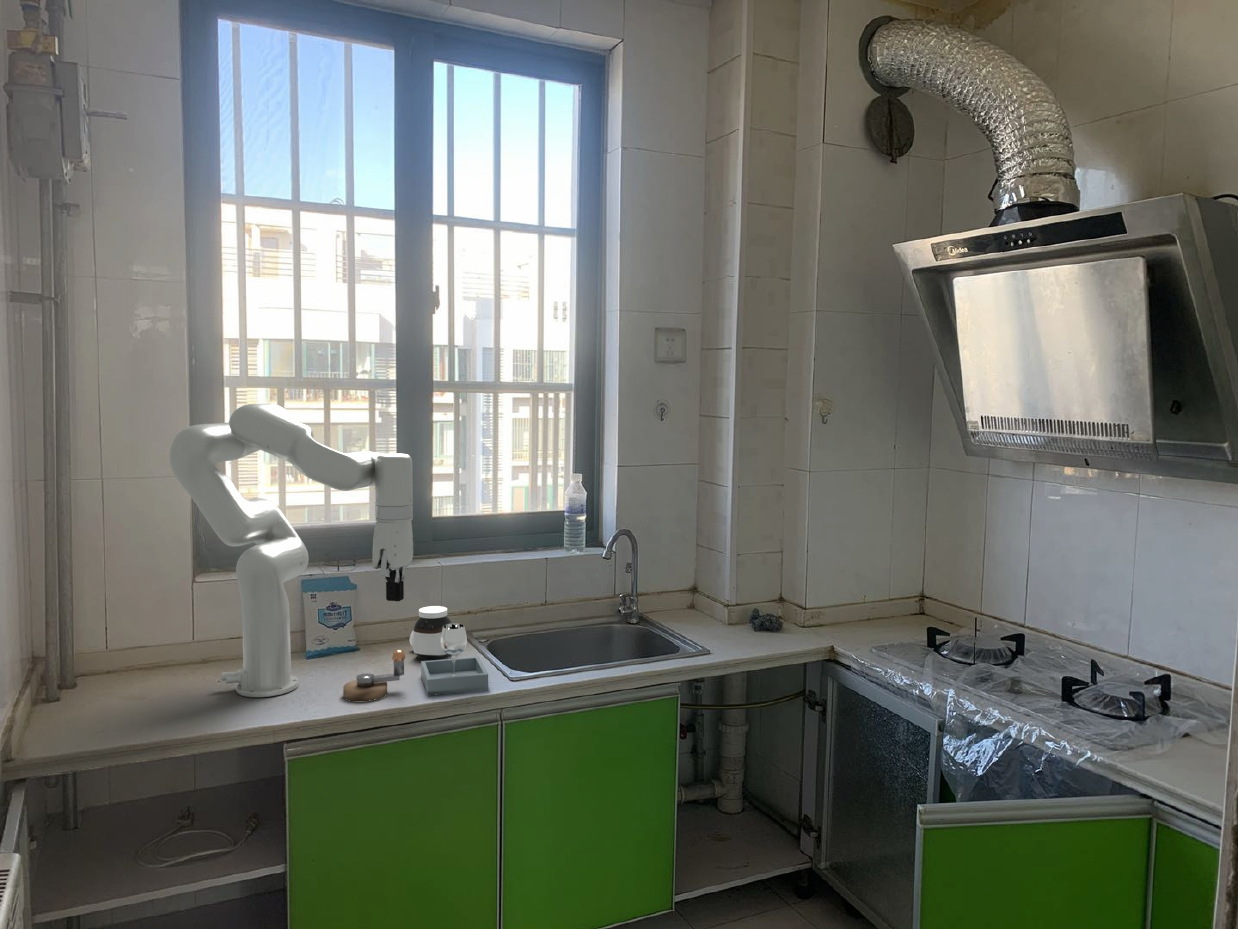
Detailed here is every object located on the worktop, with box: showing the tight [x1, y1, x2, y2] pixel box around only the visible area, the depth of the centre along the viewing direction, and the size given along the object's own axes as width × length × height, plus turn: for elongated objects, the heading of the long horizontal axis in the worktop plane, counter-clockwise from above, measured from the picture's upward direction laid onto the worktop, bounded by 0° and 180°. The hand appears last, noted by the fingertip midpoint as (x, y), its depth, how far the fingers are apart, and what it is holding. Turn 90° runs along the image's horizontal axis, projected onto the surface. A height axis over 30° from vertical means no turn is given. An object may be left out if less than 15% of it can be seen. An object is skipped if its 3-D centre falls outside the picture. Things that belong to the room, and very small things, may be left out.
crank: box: [356, 649, 406, 687], centre depth 187 cm, size 10×4×7 cm, turn 112°
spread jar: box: [409, 605, 453, 661], centre depth 214 cm, size 12×11×12 cm
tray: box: [420, 656, 489, 696], centre depth 194 cm, size 13×13×4 cm
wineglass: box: [440, 623, 468, 677], centre depth 194 cm, size 6×6×12 cm
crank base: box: [342, 679, 388, 702], centre depth 186 cm, size 9×9×2 cm
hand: (395, 599), depth 182 cm, fingers closed
